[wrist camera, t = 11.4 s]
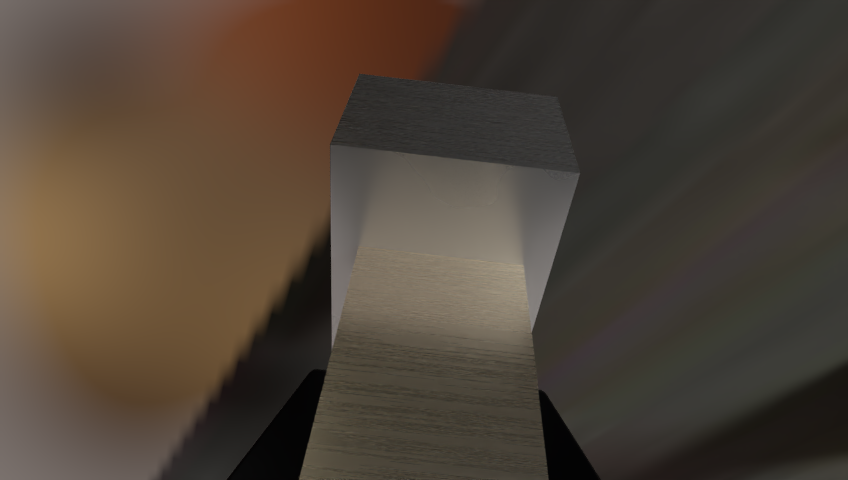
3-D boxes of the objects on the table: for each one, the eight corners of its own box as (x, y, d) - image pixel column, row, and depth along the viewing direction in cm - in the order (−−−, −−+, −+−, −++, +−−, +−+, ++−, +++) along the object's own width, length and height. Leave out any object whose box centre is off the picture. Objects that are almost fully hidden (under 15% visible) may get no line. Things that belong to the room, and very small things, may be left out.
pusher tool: (557, 96, 11) (757, 760, 3) (496, 335, 16) (525, 876, 8) (359, 74, 11) (101, 692, 3) (353, 318, 16) (233, 844, 8)
